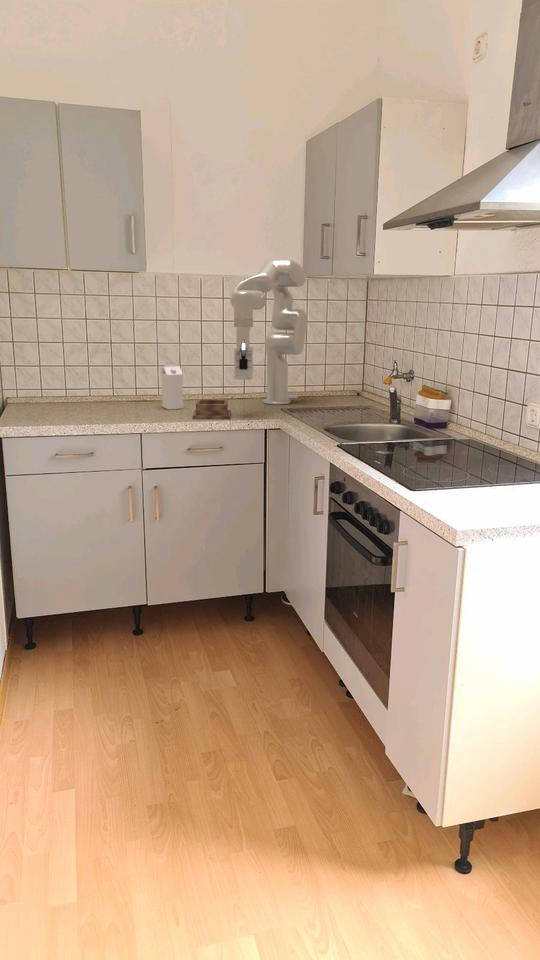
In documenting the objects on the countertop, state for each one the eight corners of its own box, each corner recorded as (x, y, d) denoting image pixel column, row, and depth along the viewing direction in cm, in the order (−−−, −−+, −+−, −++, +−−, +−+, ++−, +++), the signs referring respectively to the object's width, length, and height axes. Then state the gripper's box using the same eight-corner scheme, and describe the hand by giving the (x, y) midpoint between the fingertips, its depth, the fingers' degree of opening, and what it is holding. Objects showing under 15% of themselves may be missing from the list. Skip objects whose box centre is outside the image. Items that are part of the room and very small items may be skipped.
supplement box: (235, 377, 289) (234, 346, 286) (253, 377, 289) (253, 346, 286) (234, 379, 282) (233, 347, 278) (252, 379, 282) (252, 347, 278)
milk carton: (162, 407, 307) (160, 363, 302) (177, 406, 310) (176, 362, 305) (167, 409, 301) (166, 365, 296) (183, 408, 304) (182, 364, 299)
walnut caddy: (230, 412, 297) (230, 399, 295) (230, 419, 282) (229, 405, 281) (195, 412, 296) (194, 399, 295) (192, 419, 282) (192, 405, 280)
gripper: (234, 322, 288) (234, 365, 292) (233, 324, 271) (234, 370, 276) (252, 322, 288) (252, 365, 293) (253, 324, 271) (253, 370, 276)
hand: (243, 367), depth 284 cm, fingers closed on supplement box, 7 cm apart
